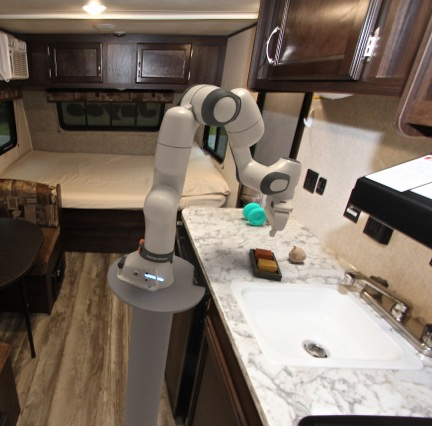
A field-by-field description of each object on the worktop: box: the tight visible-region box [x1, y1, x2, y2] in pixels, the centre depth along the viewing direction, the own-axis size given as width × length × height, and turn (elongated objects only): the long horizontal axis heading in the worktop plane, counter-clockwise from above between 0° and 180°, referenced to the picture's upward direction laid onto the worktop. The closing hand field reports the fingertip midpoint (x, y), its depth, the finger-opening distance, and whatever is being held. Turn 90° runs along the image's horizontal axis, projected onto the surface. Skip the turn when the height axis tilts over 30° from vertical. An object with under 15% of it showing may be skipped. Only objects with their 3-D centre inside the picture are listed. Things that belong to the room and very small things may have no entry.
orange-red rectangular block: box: [254, 247, 273, 261], centre depth 124 cm, size 6×4×4 cm
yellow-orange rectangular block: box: [257, 259, 277, 273], centre depth 117 cm, size 6×4×4 cm
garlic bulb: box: [288, 245, 307, 263], centre depth 124 cm, size 7×6×8 cm
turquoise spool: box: [242, 202, 266, 227], centre depth 157 cm, size 10×10×10 cm
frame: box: [248, 248, 283, 282], centre depth 121 cm, size 10×18×3 cm, turn 163°
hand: (269, 230), depth 119 cm, fingers open, 8 cm apart
